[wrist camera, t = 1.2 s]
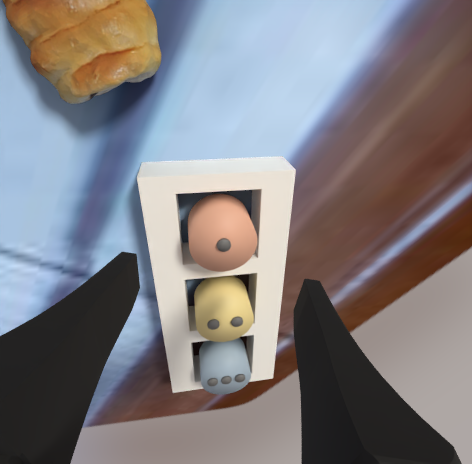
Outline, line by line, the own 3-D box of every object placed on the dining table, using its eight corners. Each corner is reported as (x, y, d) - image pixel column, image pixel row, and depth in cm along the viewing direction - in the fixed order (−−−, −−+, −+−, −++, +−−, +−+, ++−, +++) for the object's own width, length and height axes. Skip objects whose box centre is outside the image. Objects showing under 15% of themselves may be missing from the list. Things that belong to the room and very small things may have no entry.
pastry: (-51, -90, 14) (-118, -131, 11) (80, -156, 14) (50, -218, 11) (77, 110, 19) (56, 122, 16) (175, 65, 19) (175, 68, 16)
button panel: (265, 353, 34) (272, 378, 31) (173, 365, 32) (172, 392, 30) (282, 156, 23) (295, 169, 20) (141, 162, 21) (136, 177, 19)
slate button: (244, 362, 31) (250, 392, 28) (200, 368, 30) (202, 399, 27) (245, 331, 29) (252, 361, 26) (197, 337, 28) (199, 368, 25)
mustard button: (245, 311, 27) (253, 340, 24) (195, 316, 27) (197, 347, 24) (247, 271, 25) (255, 299, 22) (192, 276, 24) (194, 305, 22)
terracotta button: (247, 244, 24) (256, 270, 21) (190, 249, 23) (191, 276, 20) (249, 191, 21) (259, 212, 19) (185, 195, 21) (186, 217, 18)
